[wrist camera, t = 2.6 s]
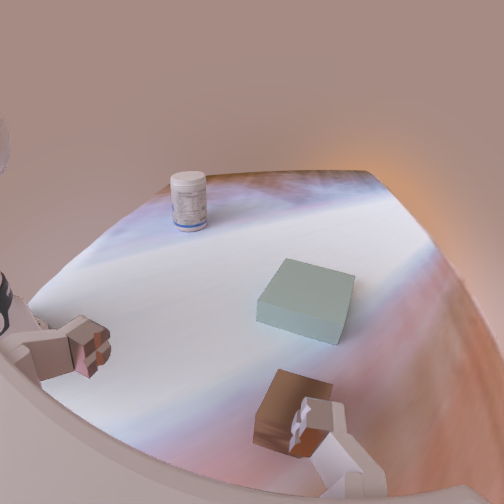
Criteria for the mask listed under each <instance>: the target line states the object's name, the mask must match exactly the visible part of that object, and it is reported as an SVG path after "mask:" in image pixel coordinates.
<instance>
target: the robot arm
mask: <svg viewBox="0 0 504 504" xmlns="http://www.w3.org/2000/svg"><path fill="white" fill-rule="evenodd" d="M11 143H12V141H11V132H10V128H9V125H8V123H7V121H6V119H5V118H4V117H3V115H2V114H1V113H0V175H2V174H3V172H4V170H5V168H6V165H7V163H8V161H9V157H10V153H11ZM109 338H110V331H109V330H108V329H107V328H105V327H103V326H101V325H99V324H98V323H96V322H94V321H92V320H90V319H88V318H86V317H85V316H83V315H79V316H77V317H76V318H74V319H73V320H71V321H70V322H68V323H67V324H65V325H64V326H63V327H61V328H60V329H58V330H56V329H49V327H48V325H47V324H46V322H44V321H42V320H41V319H39V318H37V317H35V316H34V315H32V313H31V311H30V309H29V308H28V306H27V304H26V302H25V300H24V299H23V298H20V297H19V296H16V295H13V293H12V290H11V289H10V285H9V283H8V281H7V280H6V278H5V276H4V274H3V273H2V272H0V504H490V502H489V501H488V500H487V499H486V498H484V497H483V496H482V495H480V494H479V493H478V492H477V491H475V490H474V489H472V488H471V487H469V486H467V485H465V484H461V485H456V486H452V487H448V488H444V489H439V490H435V491H429V492H424V493H418V494H411V495H404V496H395V497H388V491H387V484H386V477H385V472H384V471H383V469H382V468H381V467H380V466H379V465H378V464H377V463H376V462H375V461H374V460H373V458H372V457H371V456H370V455H369V454H368V453H367V452H366V451H365V450H364V448H363V447H362V446H361V445H360V444H359V443H358V442H357V440H356V439H355V438H354V437H353V436H352V435H351V434H347V426H346V417H345V409H344V404H343V403H341V402H334V401H327V400H321V399H316V398H310V397H305V398H304V399H303V401H302V403H301V409H299V410H297V412H296V414H295V416H294V419H293V422H292V427H291V433H292V434H293V436H292V438H291V440H290V446H289V454H295V455H300V456H306V457H310V460H311V462H312V463H313V465H314V467H315V469H316V471H317V472H318V474H319V476H320V478H321V479H322V481H323V483H324V485H325V486H326V488H327V491H326V492H324V493H323V494H322V495H321V496H319V497H318V498H315V497H304V496H294V495H287V494H280V493H273V492H267V491H262V490H257V489H252V488H247V487H243V486H239V485H235V484H231V483H227V482H223V481H219V480H216V479H213V478H209V477H206V476H203V475H200V474H197V473H194V472H191V471H188V470H185V469H183V468H180V467H177V466H175V465H172V464H170V463H167V462H165V461H162V460H160V459H157V458H155V457H153V456H151V455H148V454H146V453H144V452H142V451H140V450H138V449H136V448H134V447H132V446H130V445H128V444H126V443H124V442H122V441H120V440H118V439H116V438H114V437H113V436H111V435H109V434H107V433H106V432H104V431H102V430H100V429H99V428H97V427H95V426H94V425H92V424H91V423H89V422H87V421H86V420H84V419H83V418H81V417H80V416H78V415H77V414H75V413H74V412H72V411H71V410H69V409H68V408H66V407H65V406H64V405H62V404H61V403H59V402H58V401H57V400H55V399H54V398H53V397H51V396H50V395H49V394H48V393H46V392H45V391H44V390H43V389H42V386H41V383H40V381H43V380H46V379H50V378H53V377H56V376H59V375H63V374H66V373H69V372H72V371H74V370H75V371H77V372H78V373H80V374H82V375H83V376H85V377H87V378H90V377H91V376H92V375H93V374H94V373H95V372H96V371H97V370H98V366H99V365H104V364H105V363H106V361H107V360H108V358H109V356H110V353H111V345H110V343H109V342H108V339H109Z"/></svg>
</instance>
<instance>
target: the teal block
mask: <svg viewBox="0 0 504 504" xmlns="http://www.w3.org/2000/svg"><path fill="white" fill-rule="evenodd" d="M354 280H355V276H353V275H350V274H346V273H342V272H338V271H334V270H330V269H326V268H323V267H319V266H315V265H311V264H307V263H303V262H299V261H295V260H292V259H288V258H286V259H285V261H284V262H283V264H282V265H281V267H280V268H279V270H278V271H277V272H276V274H275V275H274V277H273V278H272V280H271V281H270V283H269V284H268V286H267V287H266V289H265V290H264V292H263V293H262V295H261V296H260V297H259V299H258V302H257V319H256V321H258V322H261V323H264V324H267V325H270V326H273V327H276V328H280V329H283V330H286V331H289V332H292V333H296V334H299V335H302V336H306V337H309V338H312V339H316V340H319V341H323V342H326V343H330V344H333V345H337V344H338V341H339V338H340V336H341V333H342V330H343V327H344V324H345V320H346V316H347V312H348V308H349V303H350V299H351V294H352V290H353V285H354Z"/></svg>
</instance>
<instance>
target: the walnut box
mask: <svg viewBox="0 0 504 504" xmlns="http://www.w3.org/2000/svg"><path fill="white" fill-rule="evenodd" d="M332 387H333V384H329V383H325V382H321V381H318V380H314V379H311V378H307V377H304V376H301V375H297V374H294V373H291V372H287V371H284V370H281V369H278V371H277V373H276V375H275V377H274V379H273V381H272V383H271V385H270V387H269V389H268V391H267V393H266V395H265V397H264V399H263V401H262V403H261V405H260V407H259V409H258V411H257V413H256V417H255V426H254V435H253V443H254V444H257V445H259V446H262V447H265V448H268V449H271V450H274V451H277V452H280V453H283V454H286V455H290V456H293V457H296V458H301V456H300V455H295V454H289V446H290V440H291V438H292V436H293V434H292V433H291V427H292V422H293V419H294V416H295V414H296V412H297V410H299V409H301V403H302V401H303V399H304V398H305V397H310V398H316V399H321V400H327V401H328V400H329V397H330V393H331V390H332Z"/></svg>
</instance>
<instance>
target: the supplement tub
mask: <svg viewBox="0 0 504 504" xmlns="http://www.w3.org/2000/svg"><path fill="white" fill-rule="evenodd" d="M170 183H171V196H172V208H173V219H174V226H175V227H176V228H177V229H178V230H180V231H184V232H193V231H198V230H200V229H202V228H204V227H205V226H206V225H207V198H206V178H205V174H204V173H202V172H198V171H185V172H180V173H176V174H174V175H172V176H171V182H170Z"/></svg>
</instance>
